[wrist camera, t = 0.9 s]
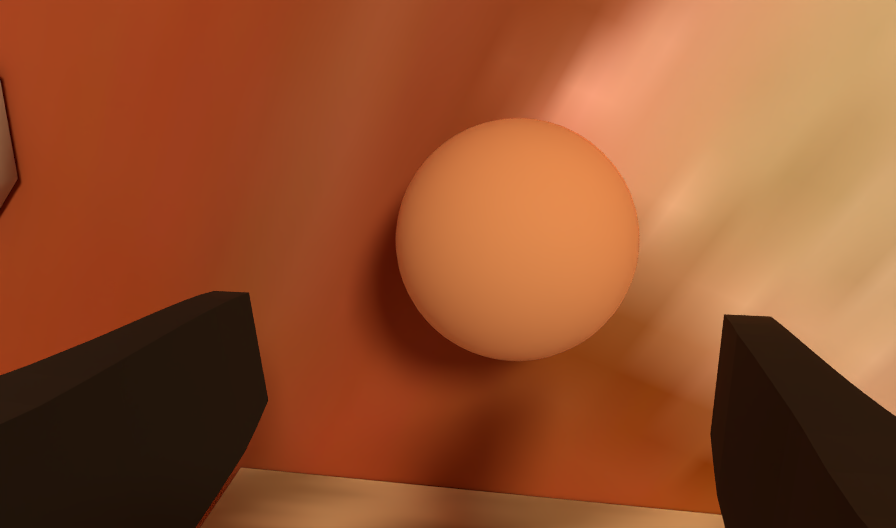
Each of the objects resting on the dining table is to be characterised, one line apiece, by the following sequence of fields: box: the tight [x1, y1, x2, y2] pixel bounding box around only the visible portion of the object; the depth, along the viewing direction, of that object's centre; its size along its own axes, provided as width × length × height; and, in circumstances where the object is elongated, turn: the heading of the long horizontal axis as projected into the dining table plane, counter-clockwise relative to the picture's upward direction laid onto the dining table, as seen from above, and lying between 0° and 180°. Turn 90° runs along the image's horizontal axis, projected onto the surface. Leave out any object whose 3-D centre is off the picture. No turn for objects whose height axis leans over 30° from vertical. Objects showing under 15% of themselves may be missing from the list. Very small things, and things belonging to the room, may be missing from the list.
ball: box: [396, 118, 639, 361], centre depth 16 cm, size 5×5×5 cm
